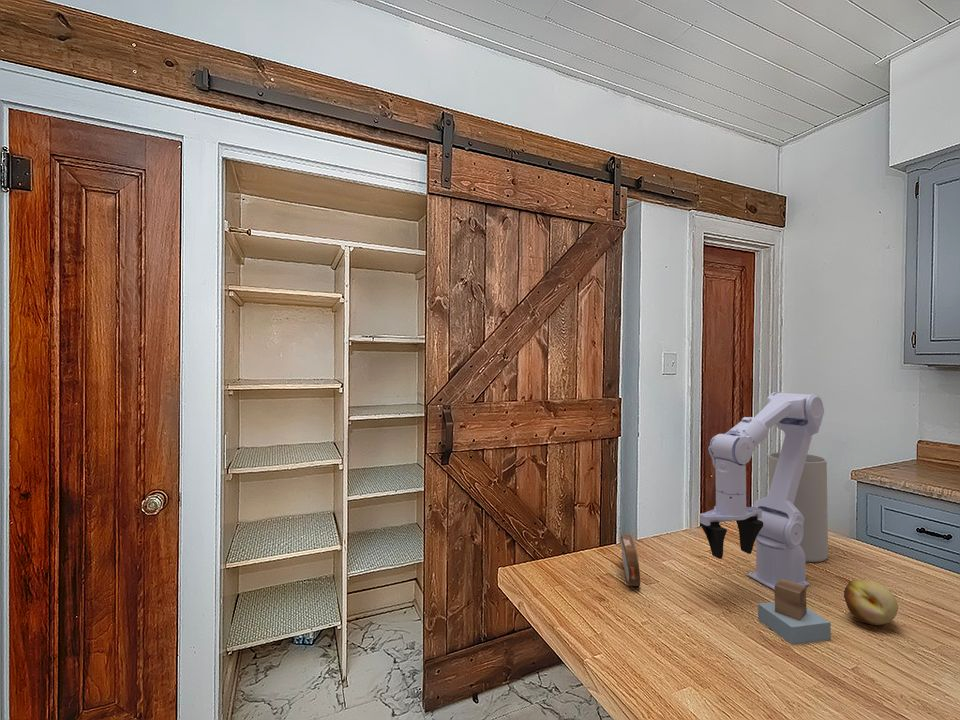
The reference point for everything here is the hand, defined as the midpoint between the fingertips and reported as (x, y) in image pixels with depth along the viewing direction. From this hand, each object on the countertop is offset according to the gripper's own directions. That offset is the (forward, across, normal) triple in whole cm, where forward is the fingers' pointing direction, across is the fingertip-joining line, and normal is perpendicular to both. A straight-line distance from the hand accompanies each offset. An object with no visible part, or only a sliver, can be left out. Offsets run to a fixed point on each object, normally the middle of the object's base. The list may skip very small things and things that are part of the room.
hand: (731, 554), depth 97 cm
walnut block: (+6, -2, +12) cm, 14 cm away
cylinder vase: (+10, -34, -13) cm, 38 cm away
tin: (+10, +15, -15) cm, 23 cm away
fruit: (+10, -18, +15) cm, 25 cm away
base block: (+10, -2, +12) cm, 16 cm away
